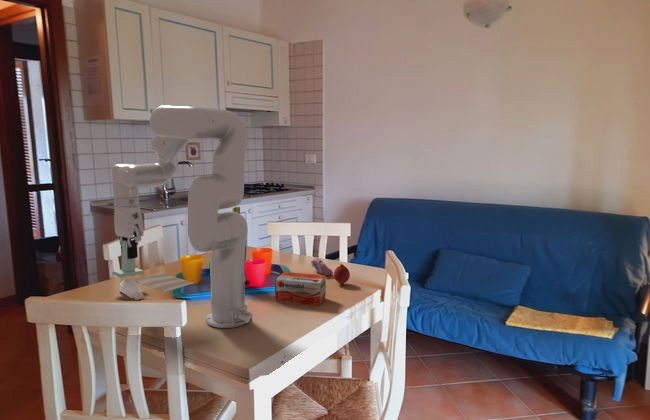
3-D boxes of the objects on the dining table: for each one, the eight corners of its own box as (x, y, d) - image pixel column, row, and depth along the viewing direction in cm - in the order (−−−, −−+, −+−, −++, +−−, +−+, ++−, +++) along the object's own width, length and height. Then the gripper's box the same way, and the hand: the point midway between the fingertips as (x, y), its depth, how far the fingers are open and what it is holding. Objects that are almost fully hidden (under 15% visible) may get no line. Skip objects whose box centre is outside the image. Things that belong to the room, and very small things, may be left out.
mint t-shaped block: (143, 273, 150) (144, 240, 149) (120, 277, 143) (121, 243, 142) (135, 271, 153) (135, 238, 152) (112, 274, 146) (113, 240, 145)
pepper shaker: (115, 283, 147) (127, 295, 139) (131, 275, 150) (144, 286, 142) (122, 296, 149) (135, 308, 142) (137, 287, 152) (150, 299, 145)
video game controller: (314, 273, 180) (307, 259, 178) (323, 267, 182) (316, 253, 179) (325, 281, 172) (317, 266, 169) (334, 274, 173) (327, 259, 171)
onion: (349, 282, 165) (350, 261, 164) (349, 287, 160) (349, 265, 158) (334, 281, 166) (334, 260, 165) (332, 286, 160) (333, 265, 159)
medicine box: (274, 302, 145) (274, 278, 143) (282, 293, 152) (282, 271, 151) (320, 307, 141) (320, 282, 140) (326, 298, 149) (326, 275, 148)
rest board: (194, 285, 159) (194, 283, 158) (164, 294, 149) (164, 291, 149) (160, 274, 170) (160, 272, 170) (131, 282, 161) (131, 280, 160)
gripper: (151, 203, 143) (154, 259, 146) (123, 198, 153) (126, 251, 156) (129, 206, 137) (132, 264, 140) (102, 201, 147) (105, 255, 150)
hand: (129, 256), depth 148 cm, fingers closed on mint t-shaped block, 3 cm apart
